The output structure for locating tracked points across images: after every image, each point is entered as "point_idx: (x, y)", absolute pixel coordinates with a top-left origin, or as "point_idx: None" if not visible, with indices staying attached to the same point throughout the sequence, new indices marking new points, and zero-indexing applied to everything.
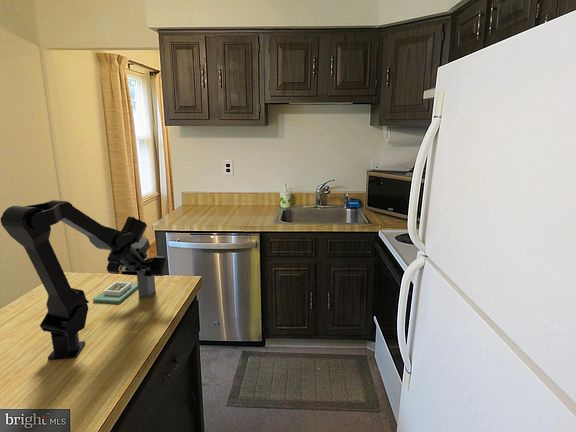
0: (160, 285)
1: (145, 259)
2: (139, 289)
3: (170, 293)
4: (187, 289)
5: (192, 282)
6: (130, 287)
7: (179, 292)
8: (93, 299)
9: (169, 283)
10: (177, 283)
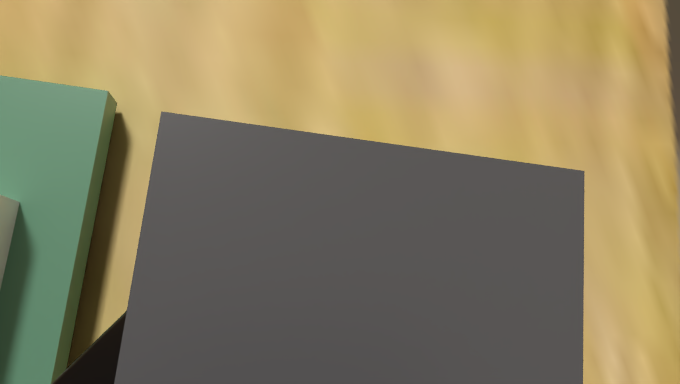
0: (340, 92)
1: (301, 221)
2: None
3: None
4: (647, 194)
5: (635, 32)
6: (14, 224)
7: (598, 266)
8: None
9: (419, 45)
10: (500, 49)
